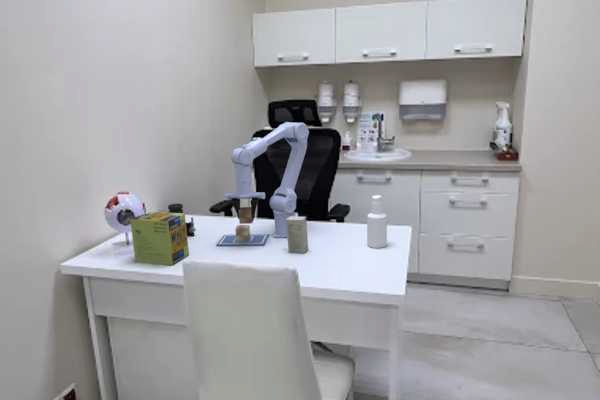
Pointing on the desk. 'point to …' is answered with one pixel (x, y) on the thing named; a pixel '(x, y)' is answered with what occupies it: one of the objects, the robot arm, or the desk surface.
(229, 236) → the board
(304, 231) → the skincare box
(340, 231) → the desk surface
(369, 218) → the spray bottle
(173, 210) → the scope
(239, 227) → the maple block
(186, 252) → the protein box
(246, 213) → the walnut block
